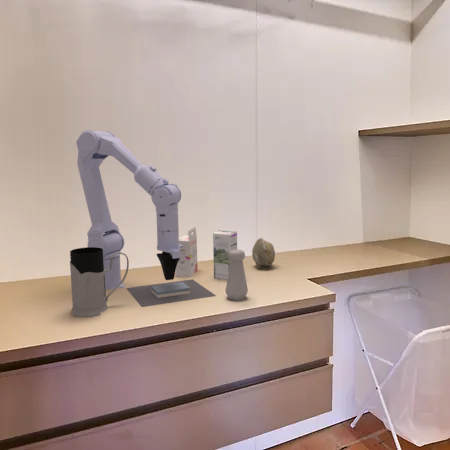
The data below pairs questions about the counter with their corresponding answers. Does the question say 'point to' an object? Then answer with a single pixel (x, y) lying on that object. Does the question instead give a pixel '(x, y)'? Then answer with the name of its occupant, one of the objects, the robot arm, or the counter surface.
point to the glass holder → (89, 281)
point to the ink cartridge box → (188, 255)
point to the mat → (149, 299)
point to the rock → (263, 253)
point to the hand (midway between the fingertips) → (169, 279)
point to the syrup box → (223, 252)
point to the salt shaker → (236, 276)
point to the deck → (170, 289)
